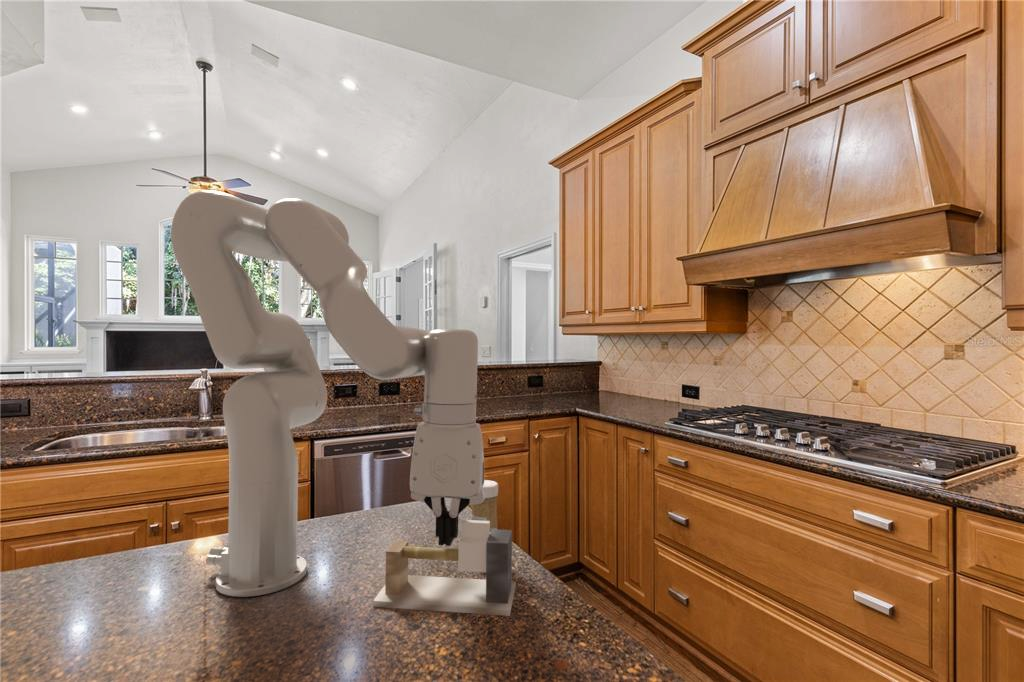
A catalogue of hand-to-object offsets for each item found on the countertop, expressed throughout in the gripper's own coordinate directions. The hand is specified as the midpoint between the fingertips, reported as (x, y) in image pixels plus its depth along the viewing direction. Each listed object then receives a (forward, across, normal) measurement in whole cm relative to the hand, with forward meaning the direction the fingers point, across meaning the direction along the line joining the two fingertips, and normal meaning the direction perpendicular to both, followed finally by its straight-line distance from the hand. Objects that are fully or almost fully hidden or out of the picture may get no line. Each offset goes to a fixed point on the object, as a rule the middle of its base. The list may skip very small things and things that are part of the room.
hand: (446, 541), depth 71 cm
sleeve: (+3, +4, 0) cm, 5 cm away
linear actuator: (+8, 0, 0) cm, 8 cm away
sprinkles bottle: (+8, +4, +11) cm, 14 cm away
